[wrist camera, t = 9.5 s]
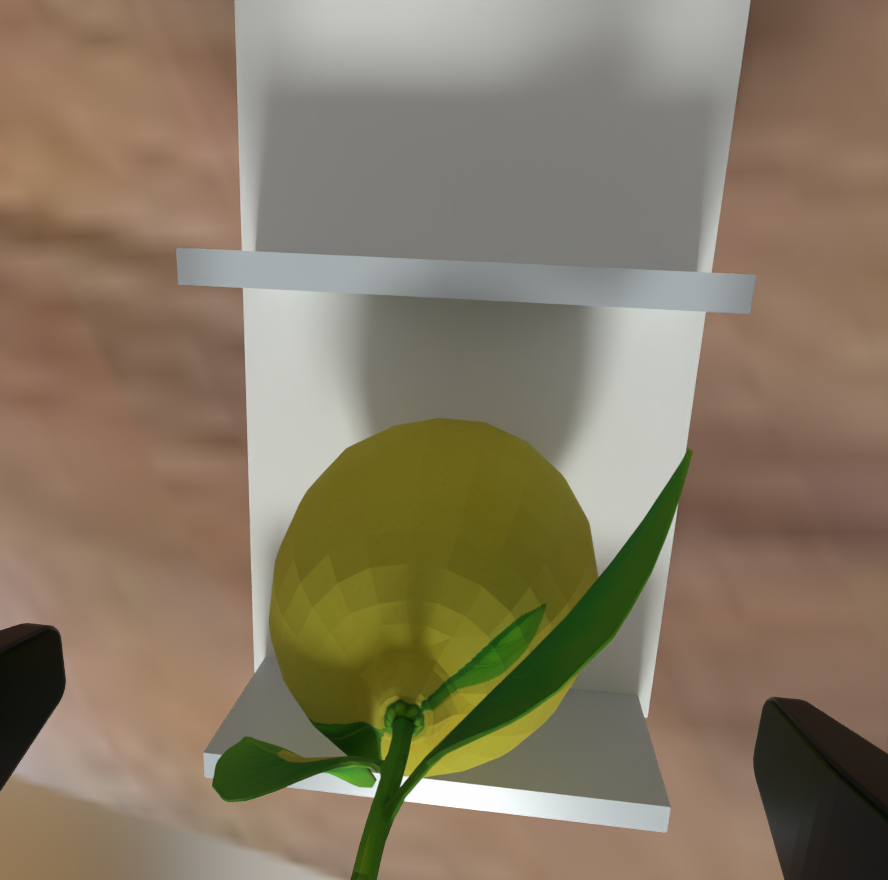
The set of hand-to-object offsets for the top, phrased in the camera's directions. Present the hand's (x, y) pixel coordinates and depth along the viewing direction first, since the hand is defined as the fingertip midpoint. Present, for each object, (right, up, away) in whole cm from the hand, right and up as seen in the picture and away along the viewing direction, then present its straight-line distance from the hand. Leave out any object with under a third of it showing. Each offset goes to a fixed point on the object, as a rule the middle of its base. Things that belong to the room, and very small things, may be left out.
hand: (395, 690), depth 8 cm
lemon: (+1, +2, +7) cm, 8 cm away
